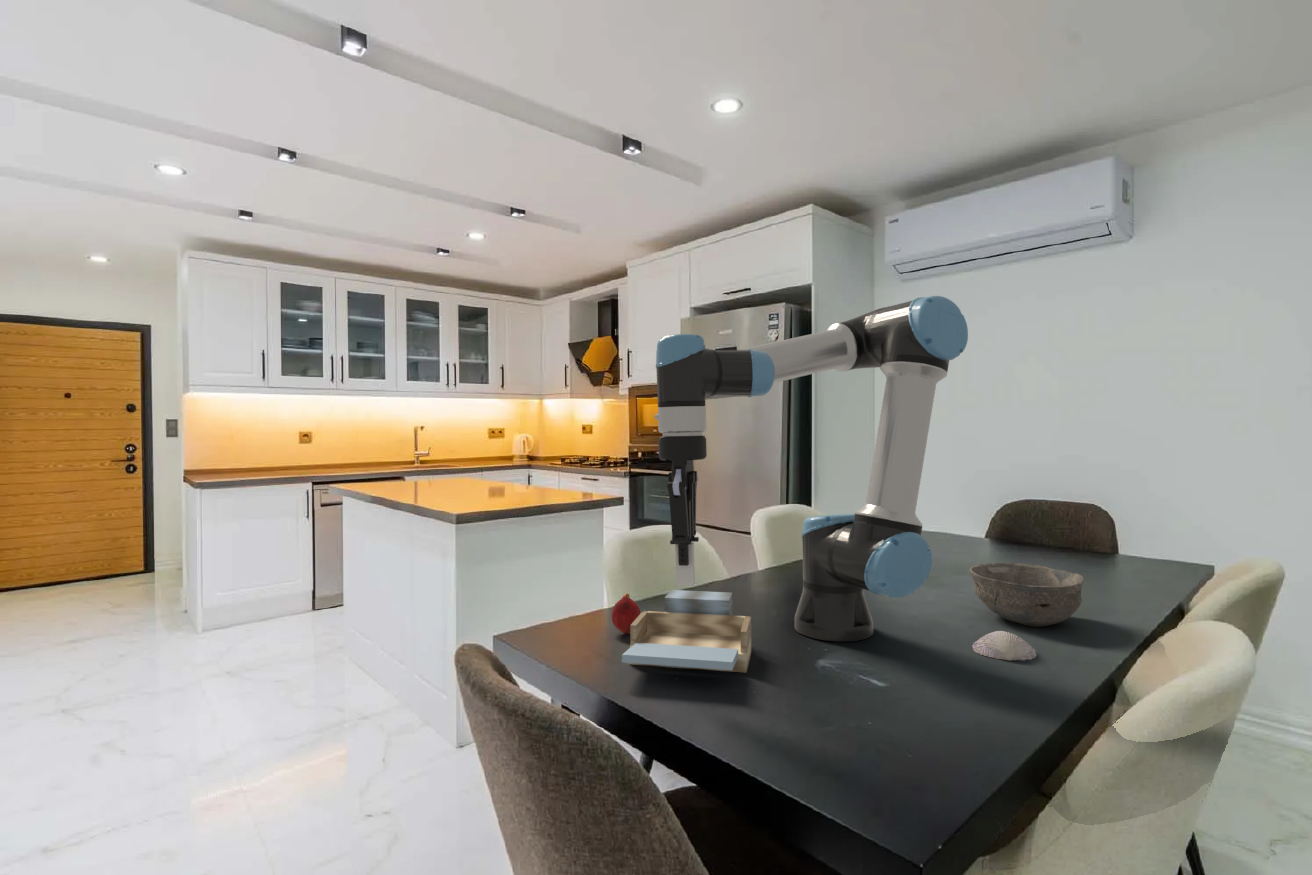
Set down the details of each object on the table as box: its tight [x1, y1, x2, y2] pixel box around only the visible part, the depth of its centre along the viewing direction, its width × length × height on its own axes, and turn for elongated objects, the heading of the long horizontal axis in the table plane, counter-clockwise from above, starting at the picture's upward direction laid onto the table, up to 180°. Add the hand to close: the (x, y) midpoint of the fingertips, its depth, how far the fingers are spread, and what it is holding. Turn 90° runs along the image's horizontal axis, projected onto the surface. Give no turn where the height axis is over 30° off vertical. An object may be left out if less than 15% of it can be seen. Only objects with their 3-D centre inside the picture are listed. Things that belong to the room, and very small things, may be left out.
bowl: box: [969, 562, 1085, 627], centre depth 134 cm, size 21×21×10 cm
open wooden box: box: [628, 589, 752, 673], centre depth 117 cm, size 20×17×9 cm
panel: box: [621, 643, 738, 670], centre depth 105 cm, size 17×2×9 cm
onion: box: [611, 592, 642, 635], centre depth 128 cm, size 6×6×8 cm
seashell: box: [971, 630, 1037, 661], centre depth 115 cm, size 10×6×10 cm
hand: (685, 584), depth 102 cm, fingers closed
